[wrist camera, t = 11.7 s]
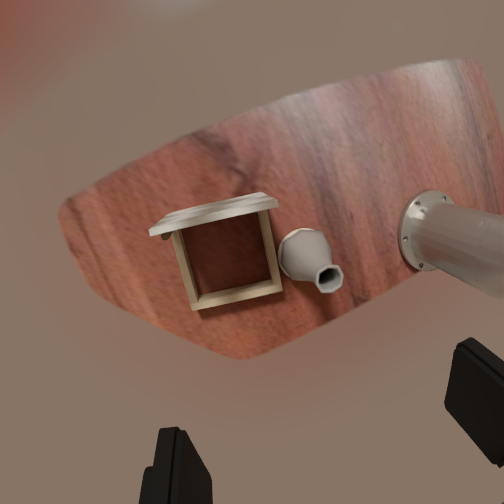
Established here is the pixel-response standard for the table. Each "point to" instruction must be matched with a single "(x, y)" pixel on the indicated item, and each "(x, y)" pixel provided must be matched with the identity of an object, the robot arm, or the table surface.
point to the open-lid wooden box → (214, 212)
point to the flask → (311, 260)
